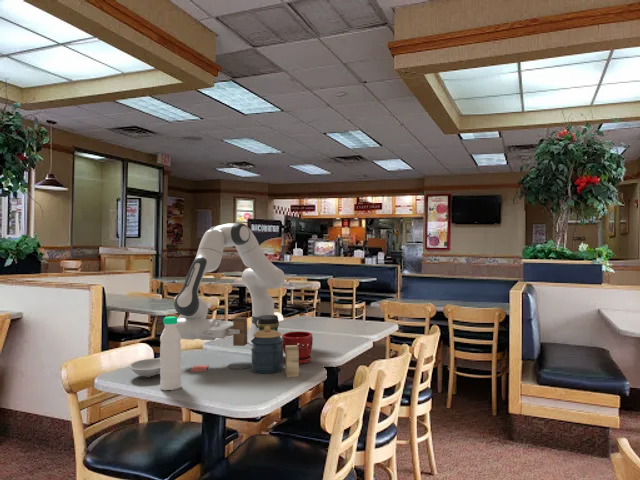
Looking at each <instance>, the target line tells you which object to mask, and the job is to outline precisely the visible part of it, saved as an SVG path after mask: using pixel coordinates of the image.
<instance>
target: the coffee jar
mask: <svg viewBox="0 0 640 480" xmlns="http://www.w3.org/2000/svg"><path fill="white" fill-rule="evenodd" d="M279 321H280V320H279V317H278V315H276V314H274V315H262V316H259V319H258V327H259V331H261V330H264V327H265V326H269V327H270V330H276V331H278V332H279V326H280V322H279Z"/></svg>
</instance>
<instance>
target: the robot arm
mask: <svg viewBox="0 0 640 480" xmlns="http://www.w3.org/2000/svg"><path fill="white" fill-rule="evenodd" d="M230 247H235V249H236V251H237V253H238V255H239V258H240V259H241V261H242V263H243V265H244V266H246V267H247V268H245V269H244V270H243V272H242V274H241V281H242V284H243V285H244V286H245V287H246V288H247V290H248V293H249V294H250V299H251V305H252V308H251V310H252V315H251V324H250V325H249V327H248V336H247V344H249V345H252V342H251V340H252V339H254V336H253V334H255V333H256V332H257V331H259V327H258V319H259V316H262V315H275V301H274V298H273V297H272V296H271V295H270V294H269V292H268V290H274V289H279V288H281V287H283V285H284V284H285V280H286V276H285V273H284V271H283V270H282V269H280V268H279V267H277V266H276V265H274V263H272V261H270V260H269V258H268V257H267V256H266V255H265V253H264V251H263V249H262V247H261V246H260V244H259V241H258V240H257V238H256V236H255V235H254V232H252V230H251V229H250V228H249V227H248V225H246V224H245V223H242V222H230V223H229V222H227V223H223V224H217V225H214V226H212V227H210V228H209V229H208V230H206V231H205V232H204V233H203V236H202V238H201V240H200V243H199V246H198V249H197V252H196V256H195V257H194V260H193V261H192V263H191V266H190V267H189V269H188V272H187V275H186V278H185V280H184V282H183V286H182V288H181V290H180V292H179V293H178V294H177V295H176V297H175V299H174V304H173V305H174V309H175V311H176V312H177V313H178V314H179V316H178V317H177V320H178V321H177V325H176V328H177V329H178V332H179V333H180V335H181V340H188V341H190V340H191V341H194V340H200V341H216V339H221V340H222V339H225V338H226V337H228V336H229V337H230V336H233V334H240V333H241V330H240V329H233V320H232V321H231V320H222V319H221V318H216V319H215V318H208V315H209V314H208V313H209V305H208V303H207V302H206V301H205V300H203V299H202V298H201V297H199V289H200V286H201V284H202V281H203V277H204V276H205V274H207V273H212V272H214V271H216V270H217V269H218V268H219V266H220V265H221V261H222V258H223V254H224V248H230ZM280 337H281V338H282V335H281V336H280Z"/></svg>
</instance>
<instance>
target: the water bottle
mask: <svg viewBox="0 0 640 480" xmlns="http://www.w3.org/2000/svg"><path fill="white" fill-rule="evenodd" d="M177 318H178V317H177V316H174V315H173V316H165V317H164V318H163V320H162V323H163V326H164V329H163V330H162V333H161V335H160V337H159V342H160V348H159V353H160V354H159V359H160V365H161V370H160V373H159V374H160V375H159V376H160V380H159V387H160V389H161V390H162V391H166V390H171V391H176V390H178V389H180V388H181V387H182V377H181V376H182V368H181V364H182V363H181V362H182V347H181V346H182V344H181V340H182V339H181V335H180V333H179V332H178V329H177V328H176V325H177V321H178V320H177Z"/></svg>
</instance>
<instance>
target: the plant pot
mask: <svg viewBox="0 0 640 480" xmlns="http://www.w3.org/2000/svg"><path fill="white" fill-rule="evenodd" d="M281 336H282V339H283V342H282V347H283V354H285V346H287V345H297V346H298V347H299V365H301V364H307V363H309V362H310V361H311V360H312V355H311V353H312V350H313V345H314V344H313V341H314V339H313V333H311V332H309V331H288V332H285V333H283V334H281ZM283 360H285V356H283Z"/></svg>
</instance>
